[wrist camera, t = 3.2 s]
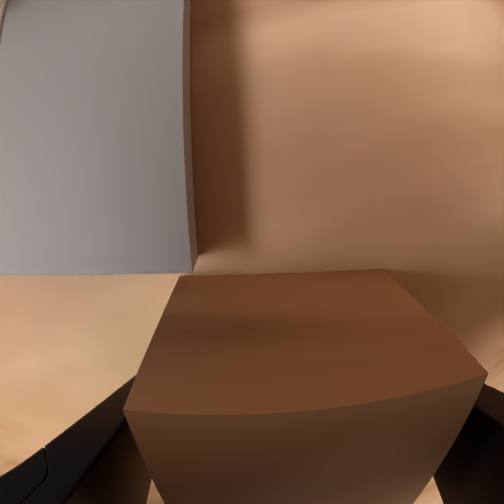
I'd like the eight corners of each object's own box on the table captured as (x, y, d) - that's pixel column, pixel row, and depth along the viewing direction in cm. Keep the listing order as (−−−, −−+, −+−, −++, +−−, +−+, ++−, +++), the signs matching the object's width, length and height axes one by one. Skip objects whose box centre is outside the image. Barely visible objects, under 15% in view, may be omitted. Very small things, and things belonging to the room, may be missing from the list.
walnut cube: (355, 409, 9) (397, 521, 5) (201, 419, 9) (188, 544, 5) (381, 267, 8) (488, 373, 3) (180, 275, 8) (123, 409, 3)
